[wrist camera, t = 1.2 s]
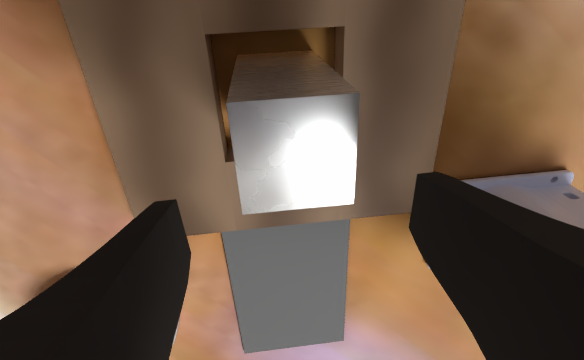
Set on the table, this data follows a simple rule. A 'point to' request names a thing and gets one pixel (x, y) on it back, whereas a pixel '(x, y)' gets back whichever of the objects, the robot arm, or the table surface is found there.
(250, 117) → the alloy block
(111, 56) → the pocket board
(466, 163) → the table surface
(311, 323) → the rubber mat
